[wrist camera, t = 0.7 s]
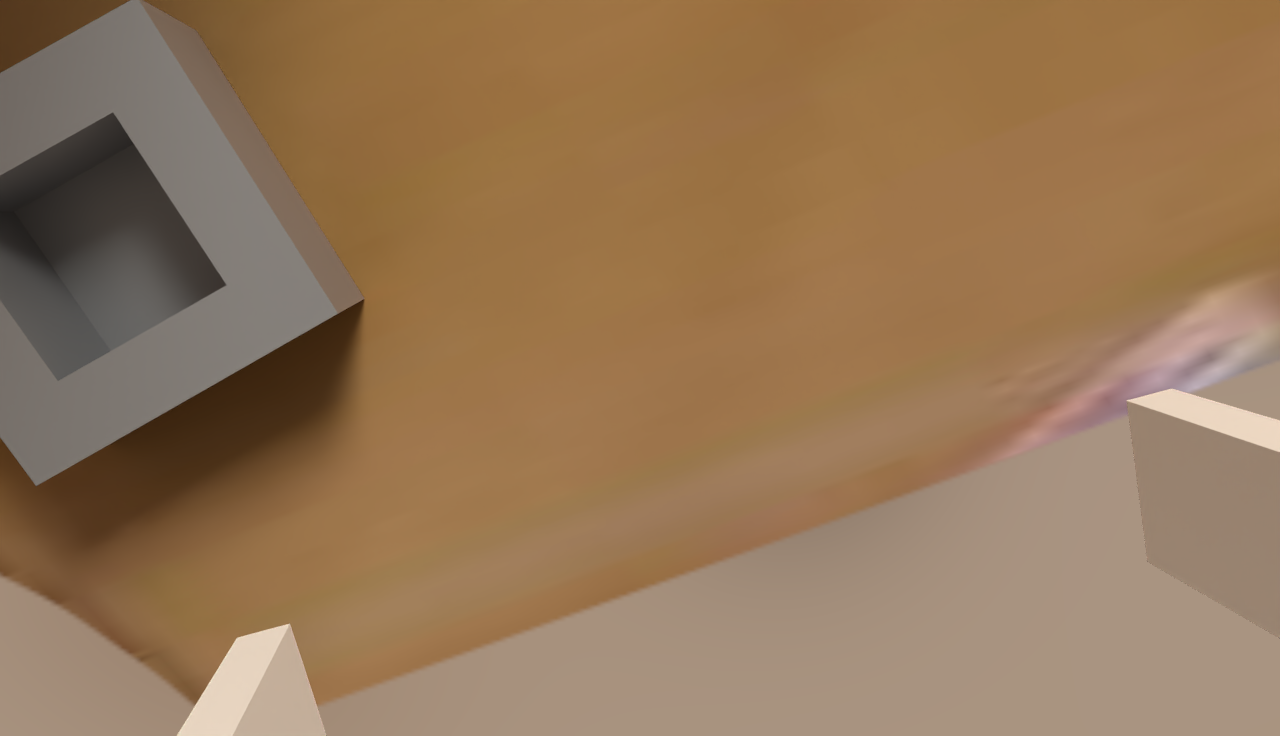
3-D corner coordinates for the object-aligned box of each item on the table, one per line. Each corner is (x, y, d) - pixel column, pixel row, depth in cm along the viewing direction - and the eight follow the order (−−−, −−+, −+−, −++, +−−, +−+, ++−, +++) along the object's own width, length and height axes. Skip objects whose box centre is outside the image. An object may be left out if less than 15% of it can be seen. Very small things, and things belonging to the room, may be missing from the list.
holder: (-79, 184, 37) (-190, 178, 32) (196, 30, 38) (136, -4, 32) (107, 445, 40) (36, 486, 34) (364, 298, 40) (338, 313, 34)
